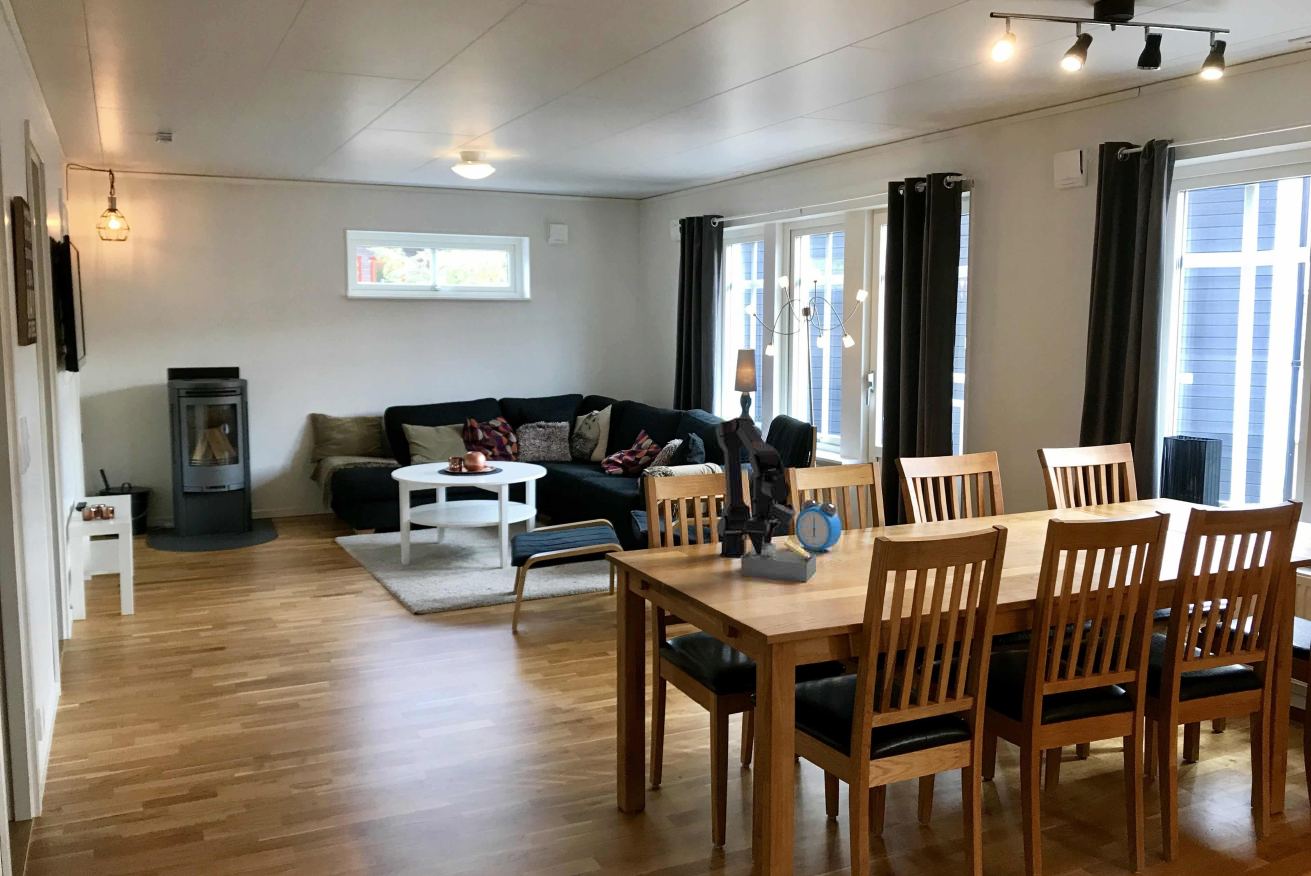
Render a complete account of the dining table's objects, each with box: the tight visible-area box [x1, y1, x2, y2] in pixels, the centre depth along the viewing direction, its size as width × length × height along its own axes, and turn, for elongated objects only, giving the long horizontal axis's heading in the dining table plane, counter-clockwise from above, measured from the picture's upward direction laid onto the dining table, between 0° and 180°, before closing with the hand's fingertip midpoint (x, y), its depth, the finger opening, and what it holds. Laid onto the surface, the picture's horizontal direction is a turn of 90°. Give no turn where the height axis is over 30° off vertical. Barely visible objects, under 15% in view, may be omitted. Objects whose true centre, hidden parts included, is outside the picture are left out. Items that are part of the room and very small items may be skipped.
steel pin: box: [749, 542, 777, 557], centre depth 285 cm, size 6×3×8 cm, turn 70°
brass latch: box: [783, 539, 812, 560], centre depth 281 cm, size 8×4×1 cm
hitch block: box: [740, 550, 817, 583], centre depth 283 cm, size 18×12×5 cm, turn 70°
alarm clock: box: [794, 499, 842, 554], centre depth 312 cm, size 13×6×15 cm, turn 48°
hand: (763, 550), depth 284 cm, fingers open, 9 cm apart
